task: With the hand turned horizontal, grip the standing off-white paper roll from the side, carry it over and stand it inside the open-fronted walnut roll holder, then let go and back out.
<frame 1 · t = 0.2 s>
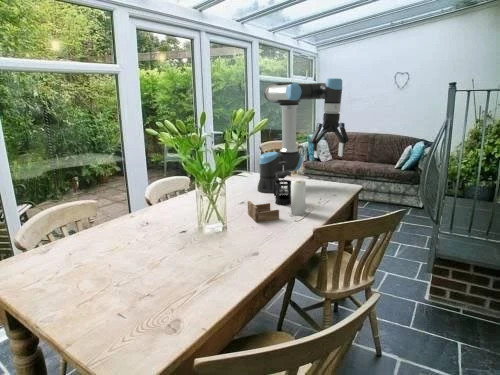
hand: (328, 156, 165), 27 cm above the table, tool pointing down, fingers open, 13 cm apart
holder: (263, 216, 166), on the table
roll: (298, 213, 169), on the table
french press: (282, 203, 187), on the table
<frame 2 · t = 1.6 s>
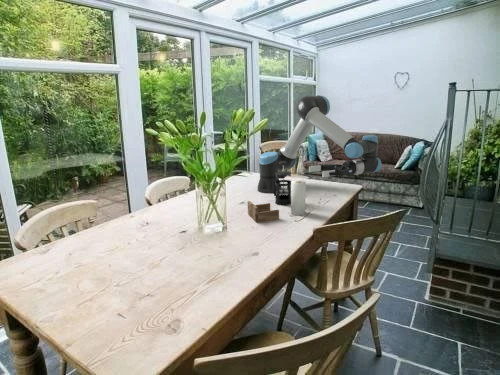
hand: (315, 171, 167), 20 cm above the table, tool horizontal, fingers open, 13 cm apart
nothing on the table moved.
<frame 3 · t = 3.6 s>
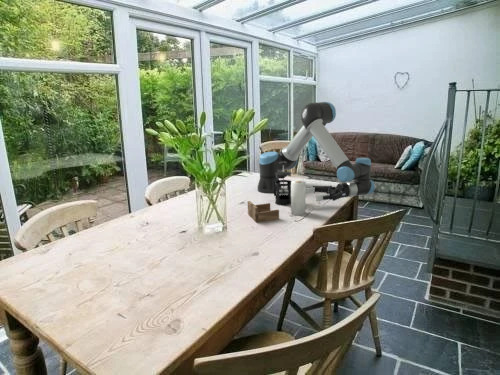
hand: (309, 194, 168), 9 cm above the table, tool horizontal, fingers open, 13 cm apart
nothing on the table moved.
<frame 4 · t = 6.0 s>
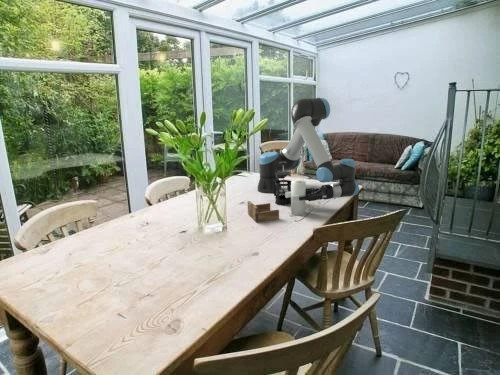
hand: (289, 197, 165), 9 cm above the table, tool horizontal, fingers closed on roll, 7 cm apart
roll: (298, 213, 169), on the table, touching gripper
everything else where it was.
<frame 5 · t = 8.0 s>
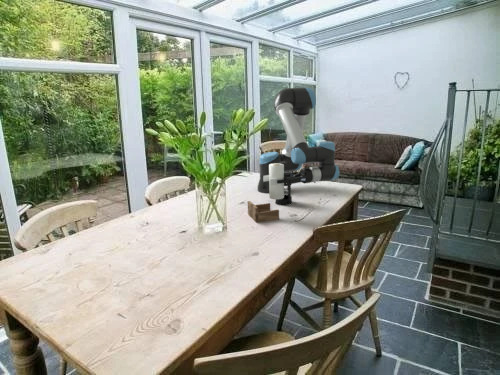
hand: (266, 180, 159), 19 cm above the table, tool horizontal, fingers closed on roll, 7 cm apart
roll: (276, 197, 163), point 10 cm above the table, touching gripper
everything else where it was.
when the fingers open (11 cm above the table, at t = 10.2 s): roll drops 1 cm, resting on holder.
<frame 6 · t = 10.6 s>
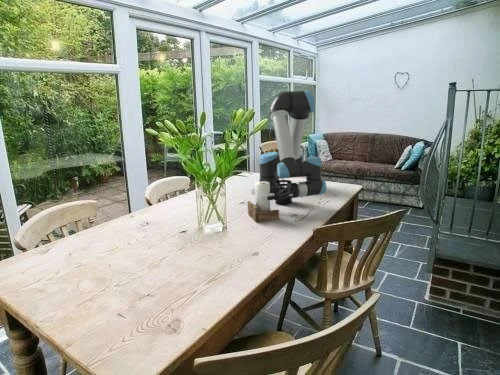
hand: (255, 195, 162), 11 cm above the table, tool horizontal, fingers open, 12 cm apart
roll: (263, 214, 165), point 1 cm above the table, touching holder
everything else where it was.
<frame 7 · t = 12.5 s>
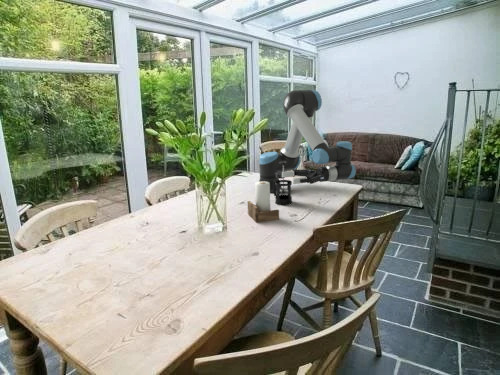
hand: (287, 177, 165), 18 cm above the table, tool horizontal, fingers open, 13 cm apart
nothing on the table moved.
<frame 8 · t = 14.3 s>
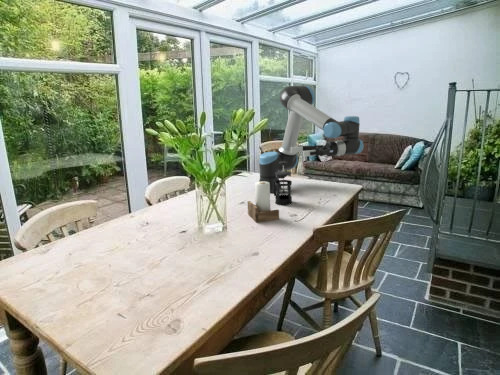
hand: (296, 151, 166), 30 cm above the table, tool horizontal, fingers open, 13 cm apart
nothing on the table moved.
at the end: roll inside the target area on the holder (0.2 cm from its centre), point 1.0 cm above the holder's base; roll tilted 0°; the gripper is holding nothing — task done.
